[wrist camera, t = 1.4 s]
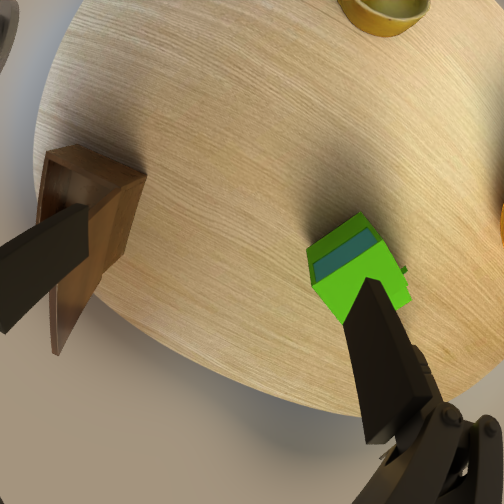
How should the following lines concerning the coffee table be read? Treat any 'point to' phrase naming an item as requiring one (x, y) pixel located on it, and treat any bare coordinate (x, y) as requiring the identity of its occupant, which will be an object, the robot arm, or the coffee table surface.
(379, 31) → the mug
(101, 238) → the chest lid
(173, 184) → the coffee table surface
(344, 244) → the toy car
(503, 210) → the emoji
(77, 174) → the chest
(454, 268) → the coffee table surface
